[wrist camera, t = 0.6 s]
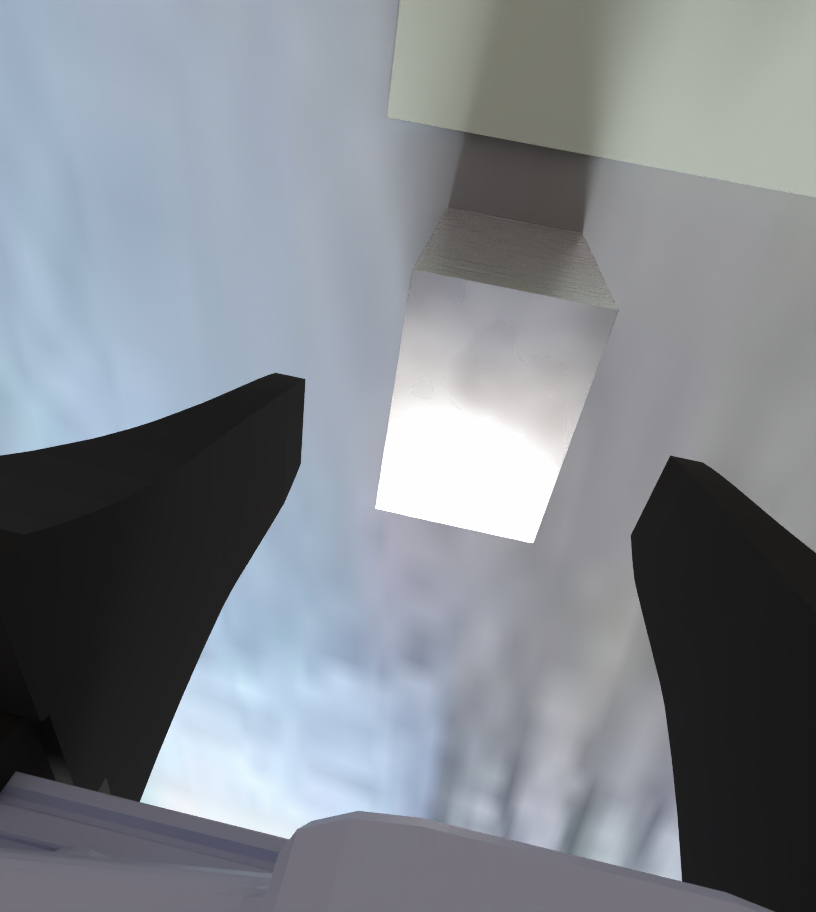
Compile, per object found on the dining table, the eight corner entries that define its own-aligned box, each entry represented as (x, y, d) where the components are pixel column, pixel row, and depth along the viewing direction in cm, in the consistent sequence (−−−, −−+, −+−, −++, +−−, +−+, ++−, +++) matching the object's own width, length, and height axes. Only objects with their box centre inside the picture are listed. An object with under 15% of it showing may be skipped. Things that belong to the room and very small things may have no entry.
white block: (582, 233, 17) (619, 310, 11) (527, 410, 20) (533, 543, 14) (448, 206, 17) (412, 269, 11) (415, 387, 20) (375, 508, 14)
